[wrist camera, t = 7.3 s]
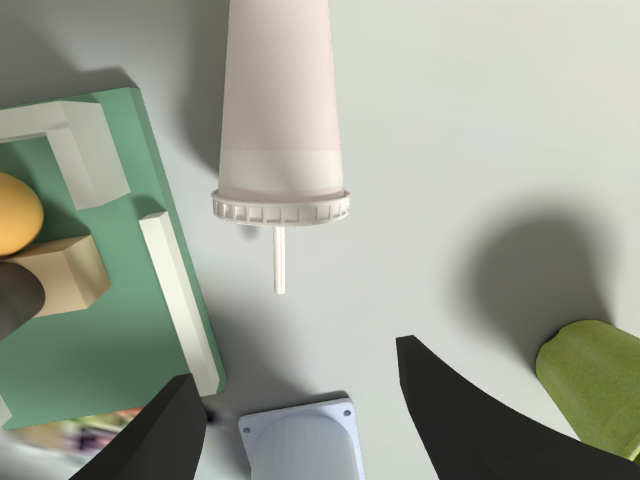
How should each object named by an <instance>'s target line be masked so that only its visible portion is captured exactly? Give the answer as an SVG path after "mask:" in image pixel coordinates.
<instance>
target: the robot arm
mask: <svg viewBox="0 0 640 480" xmlns="http://www.w3.org/2000/svg"><path fill="white" fill-rule="evenodd" d="M396 346H397V356H398V367H399V377H400V385H401V389H402V392H403V395H404V398H405V401H406V404H407V407H408V410H409V413H410V415H411V418H412V420H413V422H414V424H415V427H416V429H417V431H418V433H419V436H420V438H421V440H422V442H423V444H424V447H425V449H426V451H427V453H428V455H429V458H430V460H431V462H432V464H433V466H434V469H435V471H436V473H437V475H438V478H439V480H640V467H639V466H638V465H637V464H636V463H635V462H634V461H631V460H629V459H626V458H623V457H620V456H618V455H615V454H612V453H609V452H607V451H604V450H601V449H599V448H596V447H593V446H590V445H588V444H585V443H583V442H580V441H578V440H576V439H574V438H571V437H569V436H567V435H564V434H562V433H560V432H557V431H555V430H553V429H551V428H549V427H547V426H544V425H542V424H540V423H538V422H536V421H534V420H532V419H531V418H529V417H527V416H525V415H523V414H521V413H519V412H517V411H515V410H513V409H512V408H510V407H508V406H506V405H505V404H503V403H501V402H500V401H498V400H496V399H495V398H493V397H491V396H490V395H488V394H487V393H485V392H484V391H482V390H481V389H479V388H478V387H476V386H475V385H474V384H472V383H471V382H469V381H468V380H467V379H465V378H464V377H463V376H461V375H460V374H459V373H457V372H456V371H455V370H454V369H452V368H451V367H450V366H448V365H447V364H446V363H445V362H444V361H442V360H441V359H440V358H439V357H438V356H436V355H435V354H434V353H433V352H432V351H431V350H430V349H428V348H427V347H426V346H425V345H424V344H423V343H422V342H421V341H420V340H418V339H417V338H416V337H415V336H414V335H410V336H404V337H398V338H396ZM346 410H349V411H347V412H345V411H346ZM206 424H207V415H206V412H205V409H204V407H203V404H202V401H201V398H200V395H199V392H198V389H197V386H196V383H195V380H194V377H193V374H192V373H188V374H182V375H177V376H174V377H173V378H172V379H171V380H170V381H169V382H168V383H167V384H166V385H165V386H164V387H163V388H162V389H161V390H160V391H159V392H158V394H157V395H156V396H155V397H154V398H153V399H152V400H151V401H150V402H149V403H148V404H147V405H146V406H145V407H144V408H143V409H142V410H141V412H140V413H139V414H138V415H137V416H136V417H135V418H134V419H133V420H132V421H131V422H130V423H129V424H128V425H127V426H126V427H125V428H124V429H123V430H122V431H121V432H120V433H119V434H118V435H117V436H116V437H115V438H114V439H113V440H112V441H111V442H110V443H109V444H108V445H107V446H106V447H105V448H104V449H103V450H102V451H100V452H99V453H98V454H97V455H96V456H95V457H94V458H93V459H92V460H91V461H89V462H88V463H87V464H86V465H85V466H84V467H83V468H81V469H80V470H79V471H78V472H77V473H76V474H74V475H73V476H72V477H71V478H70V479H69V480H193V479H194V476H195V472H196V469H197V465H198V462H199V459H200V455H201V451H202V448H203V442H204V436H205V430H206ZM238 427H239V431H240V434H241V437H242V440H243V444H244V447H245V450H246V453H247V457H248V460H249V463H250V467H251V470H252V471H251V479H250V480H365V477H364V471H363V464H362V458H361V452H360V445H359V439H358V432H357V426H356V420H355V413H354V407H353V402H352V400H351V399H349V398H342V399H337V400H331V401H325V402H319V403H313V404H308V405H302V406H296V407H290V408H285V409H279V410H273V411H267V412H261V413H256V414H250V415H244V416H241V417H240V418H239V421H238ZM246 428H249V429H246Z"/></svg>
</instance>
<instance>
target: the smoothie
mask: <svg viewBox="0 0 640 480" xmlns="http://www.w3.org/2000/svg"><path fill="white" fill-rule="evenodd" d="M211 196H212V198H213V213H214V215H215V216H216V217H218V218H220V219H222V220H225V221H227V222H232V223H236V224H242V225H250V226H263V227H273V250H274V292H275V293H276V294H283V293H285V245H284V227H297V226H310V225H318V224H324V223H329V222H334V221H337V220H340V219H342V218H344V217H346V216H347V215H348V213H349V198H350V196H351V193H350V192H349V191H347V190H344V184H343V173H342V159H341V149H340V137H339V125H338V113H337V101H336V89H335V77H334V66H333V54H332V42H331V30H330V18H329V6H328V0H230V8H229V24H228V40H227V56H226V72H225V88H224V104H223V120H222V136H221V148H220V167H219V183H218V189H217V190H214V191H213V192H211Z"/></svg>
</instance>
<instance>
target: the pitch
mask: <svg viewBox="0 0 640 480" xmlns="http://www.w3.org/2000/svg"><path fill="white" fill-rule="evenodd" d="M0 172H3V173H6V174H9V175H11V176H13V177H16V178H17V179H19V180H21V181H23V182H24V183H25V184H26V185H28V186H29V187H30V188H31V189H32V190H33V191H34V192H35V194H36V195H37V196H38V198H39V200H40V202H41V204H42V207H43V212H44V220H43V225H42V228H41V230H40V232H39V234H38V236H37V237H36V238H35V240H34V241H33V242H32V243H31V244H37V243H43V242H49V241H55V240H60V239H66V238H72V237H78V236H84V235H90V234H91V235H92V238H93V240H94V243H95V245H96V248H97V250H98V253H99V255H100V258H101V260H102V263H103V265H104V268H105V270H106V273H107V276H108V278H109V281H110V283H111V287H110V288H109V289H108V290H107V291H106V292H105V293H103V294H102V295H101V296H100V297H99V298H98V299H97V300H96V301H95V302H94V303H93V304H91V305H90V306H89V307H88V308H87V309H82V310H76V311H70V312H64V313H58V314H52V315H46V316H40V317H34V318H31V319H30V320H28V321H27V322H26V323H24V324H23V325H22V326H21V327H19V328H18V329H17V330H15V331H14V332H13V333H11V334H10V335H9V336H7V337H6V338H5V339H3V340H2V341H1V342H0V428H1V427H2V429H3V430H9V429H15V428H21V427H26V426H32V425H38V424H44V423H50V422H56V421H61V420H67V419H73V418H79V417H85V416H90V415H96V414H102V413H108V412H114V411H119V410H125V409H131V408H137V407H143V406H146V405H147V404H148V403H149V402H150V401H151V400H152V399H153V398H154V397H155V396H156V395H157V394H158V392H159V391H160V390H161V389H162V388H163V387H164V386H165V385H166V384H167V383H168V382H169V381H170V380H171V379H172V378H173V377H174V376H177V375H182V374H188V373H192V374H193V377H194V380H195V383H196V386H197V389H198V392H199V395H200V397H202V396H208V395H214V394H218V393H224V390H225V386H226V382H227V377H226V374H225V370H224V367H223V364H222V360H221V357H220V354H219V350H218V347H217V344H216V340H215V337H214V334H213V331H212V327H211V324H210V321H209V317H208V314H207V311H206V307H205V304H204V301H203V297H202V294H201V291H200V287H199V284H198V281H197V277H196V274H195V271H194V267H193V264H192V261H191V258H190V254H189V251H188V248H187V244H186V241H185V238H184V234H183V231H182V228H181V224H180V221H179V218H178V214H177V211H176V208H175V204H174V201H173V198H172V195H171V191H170V188H169V185H168V181H167V178H166V175H165V171H164V168H163V165H162V161H161V158H160V155H159V151H158V148H157V145H156V141H155V138H154V135H153V131H152V128H151V125H150V122H149V118H148V115H147V112H146V108H145V105H144V102H143V98H142V95H141V92H140V89H138V88H132V87H125V88H119V89H112V90H106V91H100V92H94V93H88V94H82V95H76V96H69V97H63V98H57V99H51V100H45V101H39V102H33V103H26V104H20V105H14V106H8V107H2V108H0ZM31 244H29V245H31Z"/></svg>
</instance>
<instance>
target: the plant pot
mask: <svg viewBox="0 0 640 480" xmlns="http://www.w3.org/2000/svg"><path fill="white" fill-rule="evenodd" d="M536 374H537V377H538V380H539V381H540V383H541V384H542V386H543V387H544V388H545V390H546V391H547V393H548V394H549V395H550V397H551V398H552V400H553V401H554V403H555V404H556V405H557V407H558V408H559V410H560V411H561V413H562V414H563V415H564V417H565V418H566V420H567V421H568V423H569V424H570V426H571V427H572V428H573V430H574V431H575V433H576V434H577V436H578V437H579V439H580V440H581V441H582V442H583V443H585V444H588V445H590V446H593V447H596V448H599V449H601V450H604V451H607V452H609V453H612V454H615V455H618V456H620V457H623V458H626V459H629V460H631V461H634V462H635V463H636V464H637V465H638V466H639V467H640V339H639V338H637V337H635V336H633V335H631V334H629V333H627V332H625V331H622V330H620V329H618V328H616V327H614V326H612V325H610V324H607V323H605V322H602V321H598V320H582V321H578V322H574V323H571V324H569V325H566V326H564V327H563V328H561V329H560V331H559V333H558V334H557V335H556V336H555V337H554V338H553V339H552V340H550V341H549V342H547V343H545V344H543V346H542V347H541V349H540V351H539V353H538V356H537V359H536Z"/></svg>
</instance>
